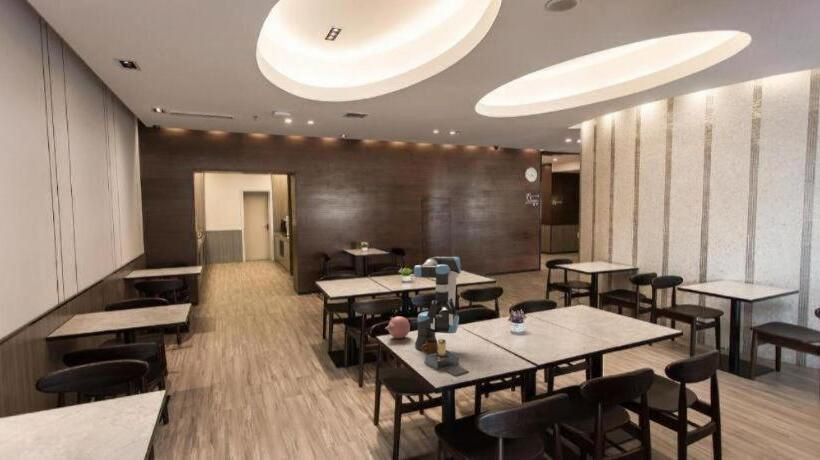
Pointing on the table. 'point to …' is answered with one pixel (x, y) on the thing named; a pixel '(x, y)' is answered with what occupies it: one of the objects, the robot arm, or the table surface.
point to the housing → (441, 360)
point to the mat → (456, 370)
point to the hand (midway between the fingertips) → (441, 326)
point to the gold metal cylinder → (441, 348)
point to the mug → (430, 347)
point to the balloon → (398, 327)
